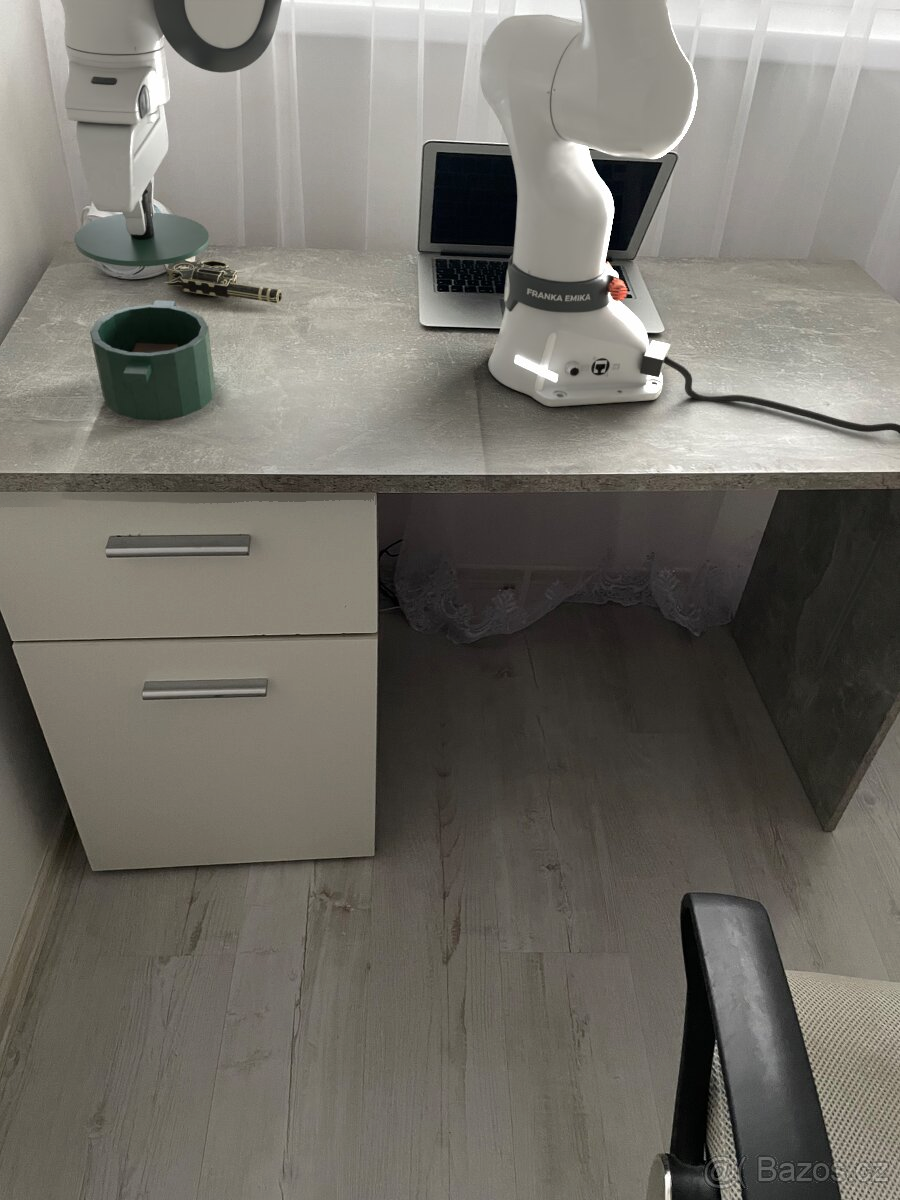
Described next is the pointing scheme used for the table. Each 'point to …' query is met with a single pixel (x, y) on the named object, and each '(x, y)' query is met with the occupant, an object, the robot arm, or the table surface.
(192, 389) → the pot
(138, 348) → the walnut box
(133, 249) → the pot lid
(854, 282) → the table surface
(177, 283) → the revolver
